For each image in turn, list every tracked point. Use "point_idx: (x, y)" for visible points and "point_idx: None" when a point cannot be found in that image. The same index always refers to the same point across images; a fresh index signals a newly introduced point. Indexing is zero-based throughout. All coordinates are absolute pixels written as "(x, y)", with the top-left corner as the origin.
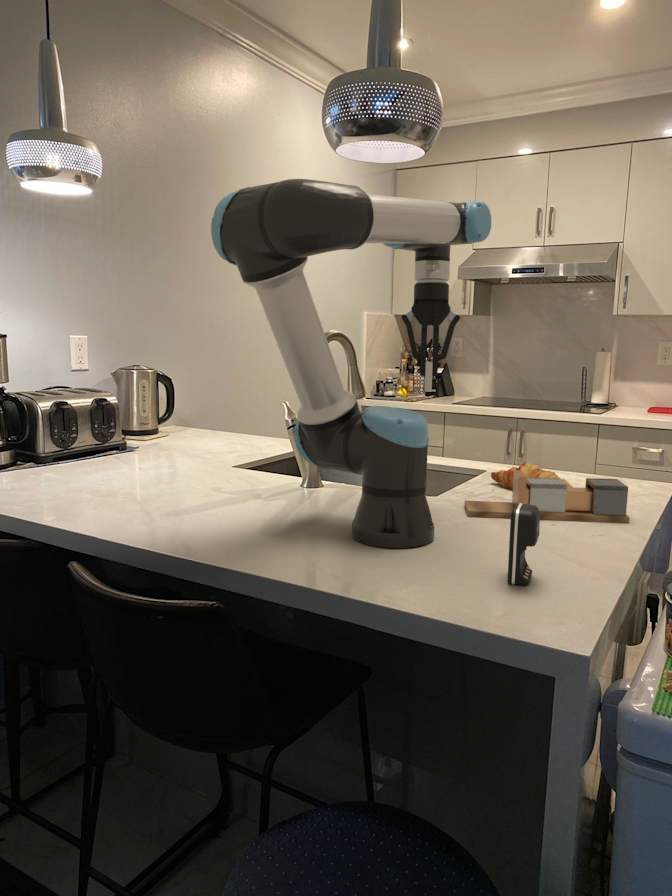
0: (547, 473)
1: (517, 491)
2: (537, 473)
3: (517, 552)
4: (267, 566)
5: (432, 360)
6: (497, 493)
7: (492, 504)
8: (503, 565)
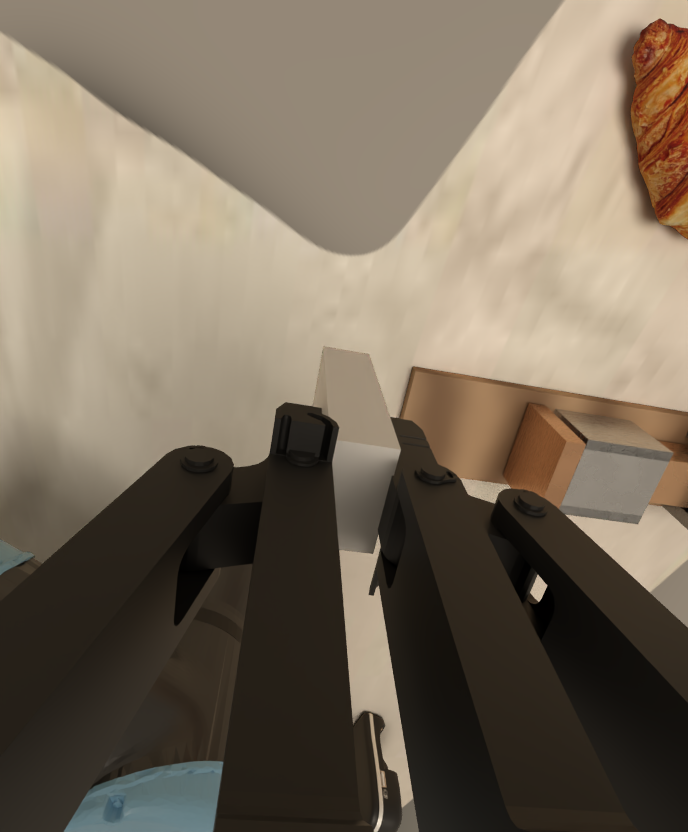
0: None
1: None
2: None
3: None
4: None
5: (380, 539)
6: (569, 213)
7: (472, 411)
8: (358, 693)
